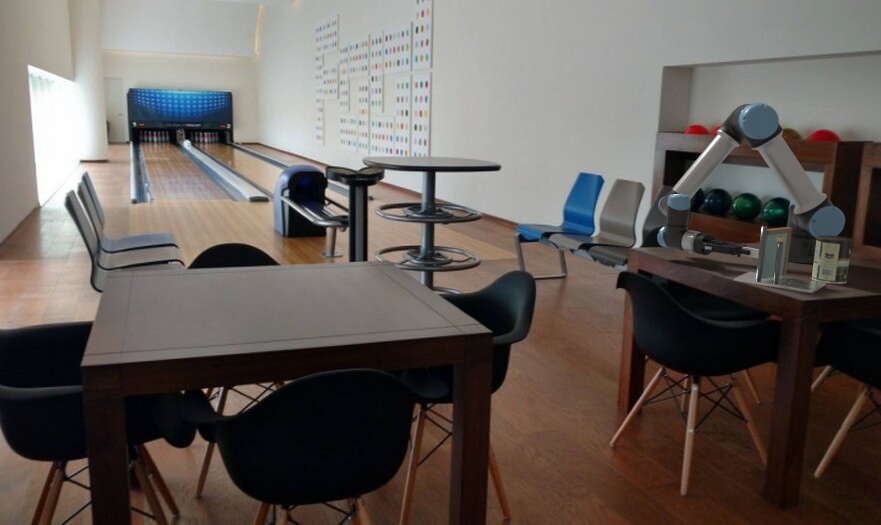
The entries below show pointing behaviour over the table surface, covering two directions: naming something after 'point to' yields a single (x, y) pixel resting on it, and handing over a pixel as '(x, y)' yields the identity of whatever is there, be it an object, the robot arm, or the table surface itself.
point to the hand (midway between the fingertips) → (761, 254)
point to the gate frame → (777, 271)
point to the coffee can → (831, 259)
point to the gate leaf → (772, 249)
